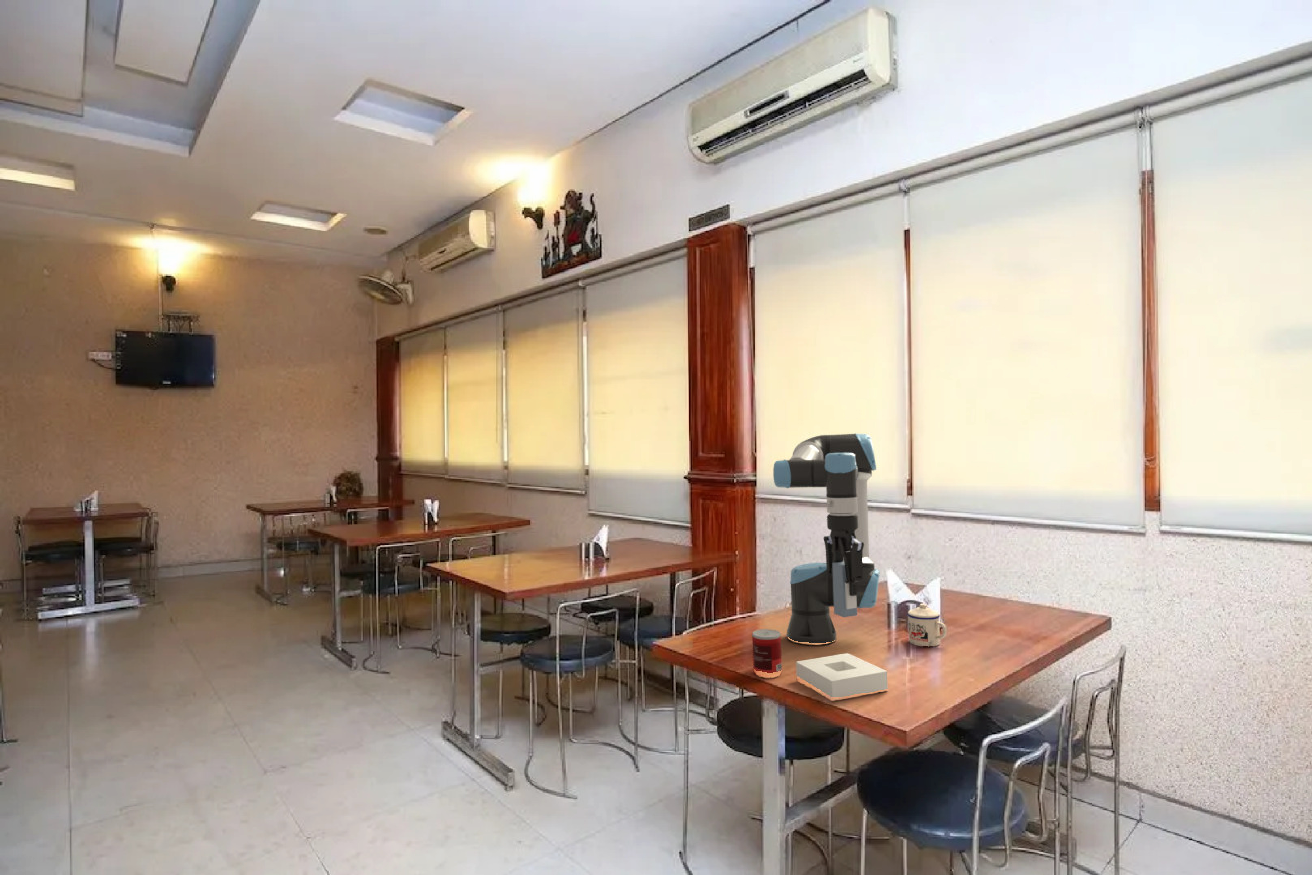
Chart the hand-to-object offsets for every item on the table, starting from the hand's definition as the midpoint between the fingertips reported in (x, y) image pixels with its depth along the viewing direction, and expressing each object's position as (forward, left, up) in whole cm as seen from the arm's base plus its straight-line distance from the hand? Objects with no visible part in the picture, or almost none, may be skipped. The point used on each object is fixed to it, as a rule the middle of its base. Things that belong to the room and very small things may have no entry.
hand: (845, 605), depth 174 cm
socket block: (-1, -1, -20) cm, 20 cm away
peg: (0, 0, -2) cm, 2 cm away
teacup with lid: (-19, +43, -21) cm, 51 cm away
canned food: (-17, -13, -21) cm, 30 cm away
